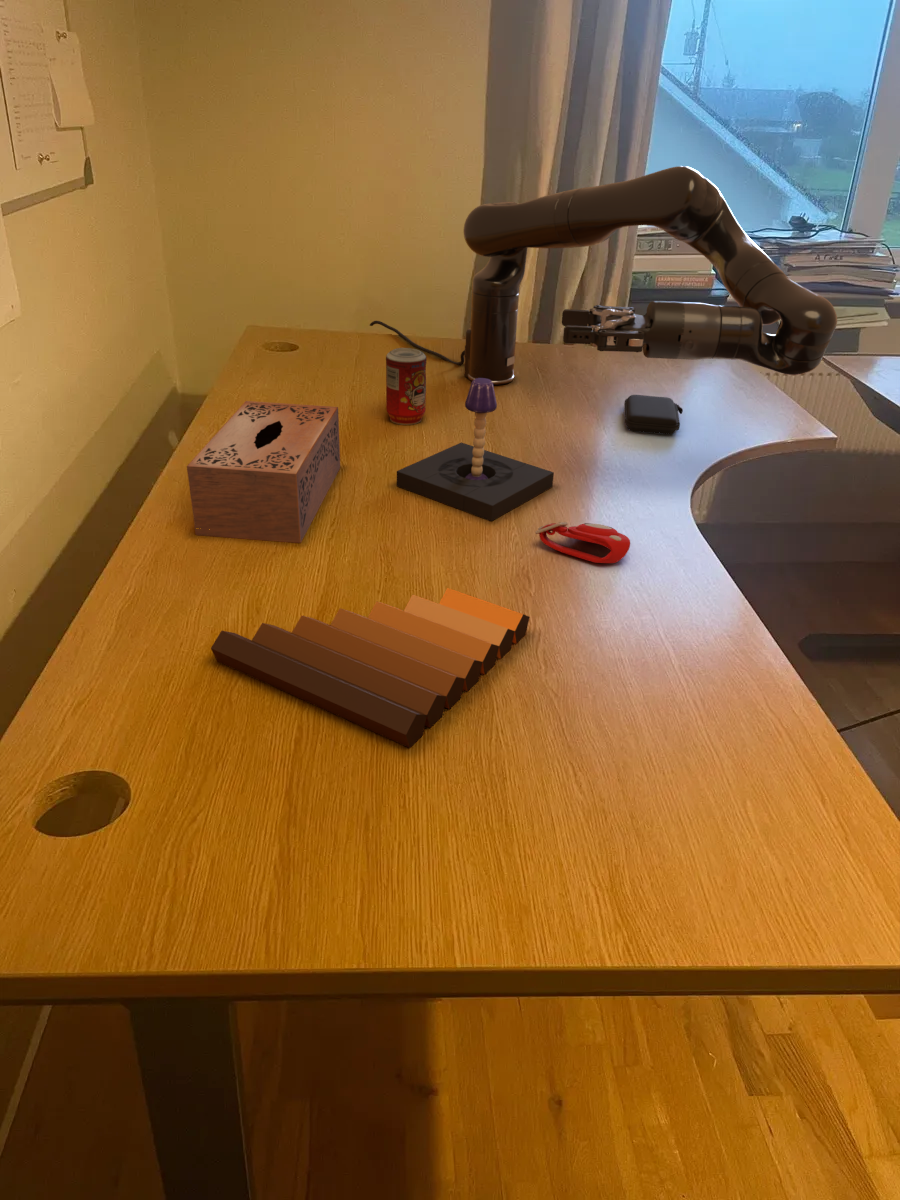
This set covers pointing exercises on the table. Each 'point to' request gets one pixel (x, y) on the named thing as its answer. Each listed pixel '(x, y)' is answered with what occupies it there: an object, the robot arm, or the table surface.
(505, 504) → the socket pad
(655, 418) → the carrying case
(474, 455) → the toy lamp
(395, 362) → the soda can
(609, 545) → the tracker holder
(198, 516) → the tissue box cover
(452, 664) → the brown ridged flat slab
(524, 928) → the table surface
